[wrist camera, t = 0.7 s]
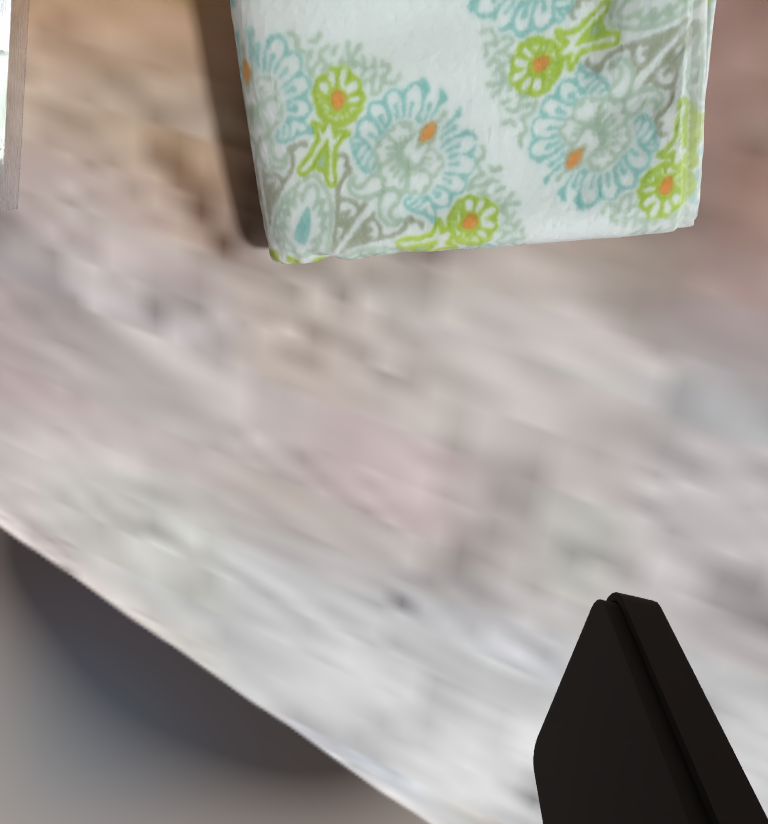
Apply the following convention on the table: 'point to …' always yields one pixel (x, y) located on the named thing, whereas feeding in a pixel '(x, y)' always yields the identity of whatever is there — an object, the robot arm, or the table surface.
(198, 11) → the table surface
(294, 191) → the towel
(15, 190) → the rail
